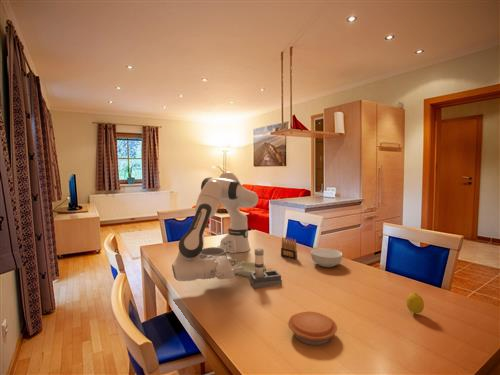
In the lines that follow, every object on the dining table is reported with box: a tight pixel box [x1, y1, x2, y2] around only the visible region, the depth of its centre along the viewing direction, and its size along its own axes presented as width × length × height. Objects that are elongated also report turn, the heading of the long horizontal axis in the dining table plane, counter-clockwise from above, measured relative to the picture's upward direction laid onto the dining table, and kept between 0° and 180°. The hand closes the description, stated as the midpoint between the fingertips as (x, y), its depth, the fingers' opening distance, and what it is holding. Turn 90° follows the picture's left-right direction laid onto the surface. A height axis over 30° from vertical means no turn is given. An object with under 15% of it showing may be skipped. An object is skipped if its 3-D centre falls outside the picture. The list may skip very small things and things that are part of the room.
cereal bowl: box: [310, 247, 343, 268], centre depth 155 cm, size 17×17×7 cm
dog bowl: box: [200, 246, 228, 259], centre depth 167 cm, size 17×18×5 cm
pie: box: [287, 311, 338, 346], centre depth 92 cm, size 15×16×5 cm
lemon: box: [406, 292, 425, 315], centre depth 103 cm, size 6×6×8 cm
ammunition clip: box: [280, 236, 298, 260], centre depth 168 cm, size 11×2×12 cm, turn 47°
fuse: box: [254, 248, 265, 278], centre depth 132 cm, size 4×4×14 cm
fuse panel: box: [249, 269, 283, 289], centre depth 133 cm, size 13×9×4 cm
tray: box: [232, 260, 266, 278], centre depth 147 cm, size 14×12×3 cm
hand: (240, 264), depth 129 cm, fingers open, 8 cm apart
